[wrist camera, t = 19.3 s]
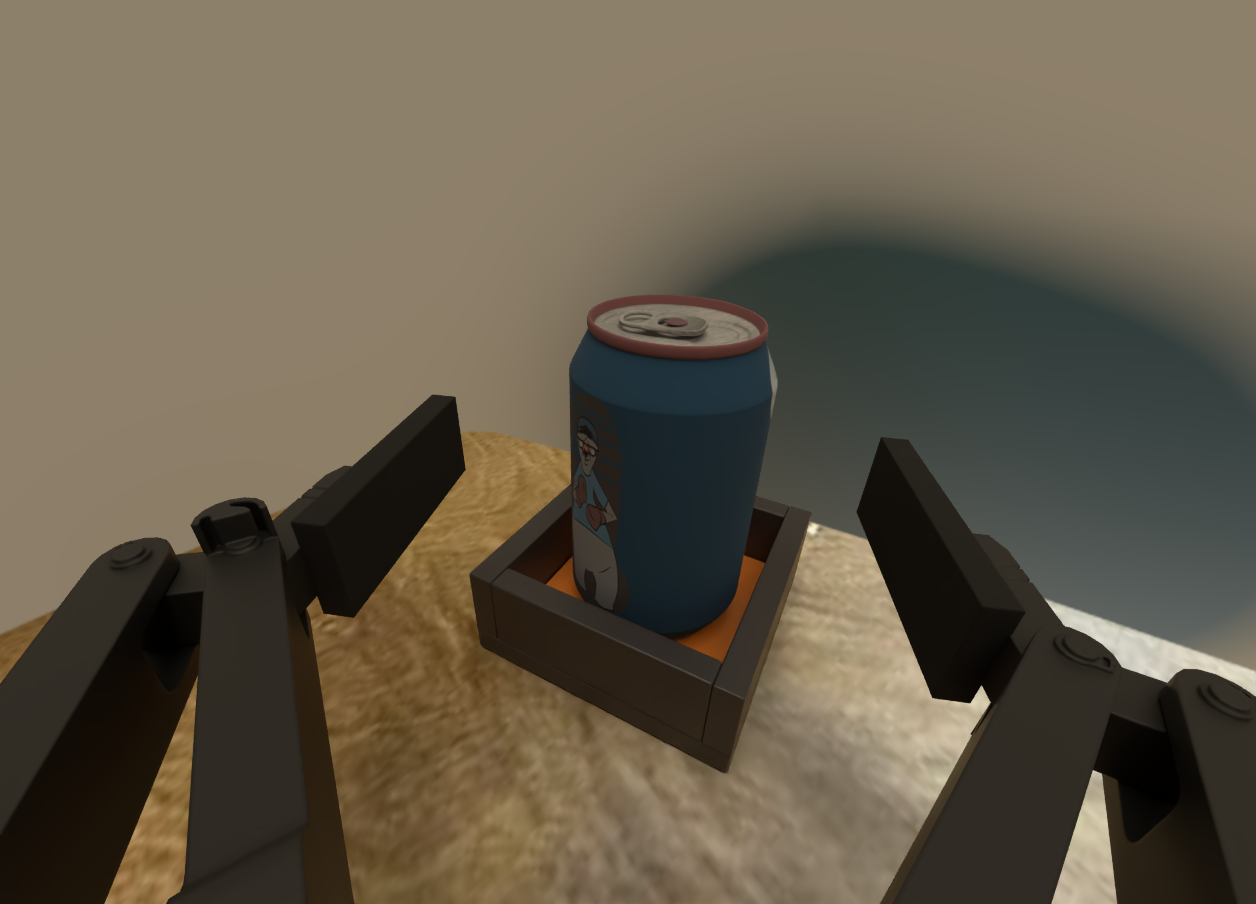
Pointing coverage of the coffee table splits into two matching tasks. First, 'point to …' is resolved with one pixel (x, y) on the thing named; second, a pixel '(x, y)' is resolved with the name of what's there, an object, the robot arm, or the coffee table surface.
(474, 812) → the coffee table surface
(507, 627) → the square wooden tray
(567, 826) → the coffee table surface
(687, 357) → the soda can
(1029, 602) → the robot arm
